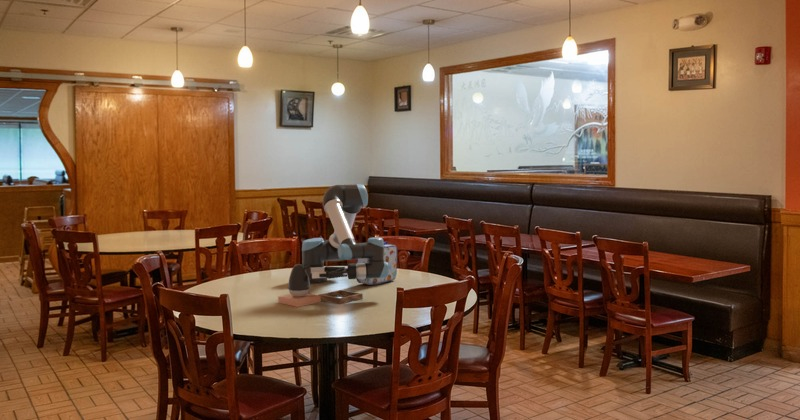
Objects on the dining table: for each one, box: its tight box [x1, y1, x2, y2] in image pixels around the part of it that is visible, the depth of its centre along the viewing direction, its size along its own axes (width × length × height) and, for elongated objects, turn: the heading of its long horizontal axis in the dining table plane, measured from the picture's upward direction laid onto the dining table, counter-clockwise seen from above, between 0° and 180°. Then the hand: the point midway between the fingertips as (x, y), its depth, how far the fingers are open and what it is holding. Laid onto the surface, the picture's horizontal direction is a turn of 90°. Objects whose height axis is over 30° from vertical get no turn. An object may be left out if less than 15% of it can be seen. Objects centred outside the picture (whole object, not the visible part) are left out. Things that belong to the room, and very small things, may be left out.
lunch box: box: [355, 241, 398, 286], centre depth 366 cm, size 28×10×22 cm, turn 143°
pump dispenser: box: [287, 263, 311, 297], centre depth 318 cm, size 10×10×15 cm
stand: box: [277, 292, 322, 308], centre depth 319 cm, size 14×14×3 cm
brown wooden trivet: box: [317, 289, 364, 305], centre depth 325 cm, size 15×15×2 cm
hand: (311, 272), depth 319 cm, fingers open, 13 cm apart
